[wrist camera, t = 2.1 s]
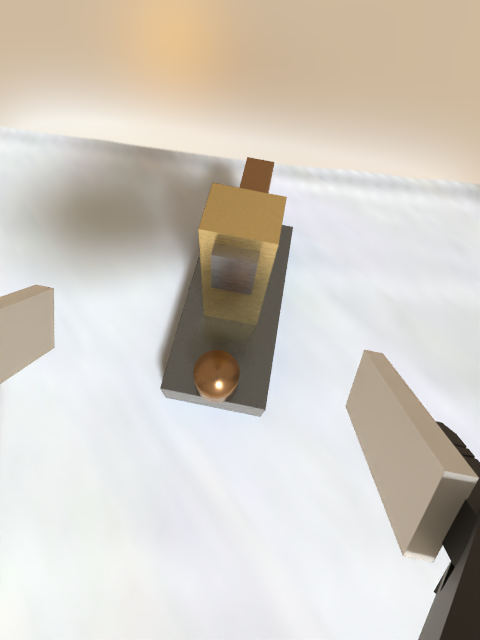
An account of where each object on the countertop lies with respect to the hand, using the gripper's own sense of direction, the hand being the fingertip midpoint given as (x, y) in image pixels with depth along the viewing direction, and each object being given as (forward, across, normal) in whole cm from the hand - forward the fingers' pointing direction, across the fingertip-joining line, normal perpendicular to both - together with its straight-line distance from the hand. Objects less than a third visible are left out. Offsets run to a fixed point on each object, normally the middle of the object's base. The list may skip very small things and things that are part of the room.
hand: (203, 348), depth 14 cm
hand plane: (+21, 0, -5) cm, 22 cm away
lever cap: (+18, 0, -3) cm, 18 cm away
